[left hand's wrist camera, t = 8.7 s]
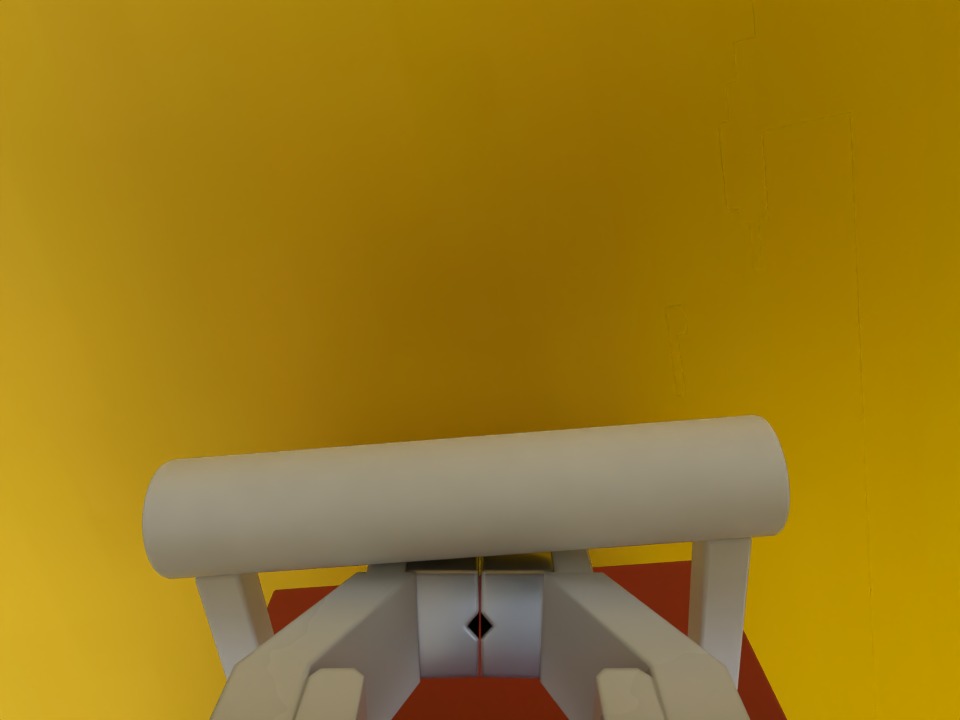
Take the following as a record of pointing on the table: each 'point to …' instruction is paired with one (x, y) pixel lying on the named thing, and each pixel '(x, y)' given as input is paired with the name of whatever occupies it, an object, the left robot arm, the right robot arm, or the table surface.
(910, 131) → the table surface
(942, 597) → the table surface
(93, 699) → the table surface
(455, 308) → the table surface
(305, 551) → the drawer
